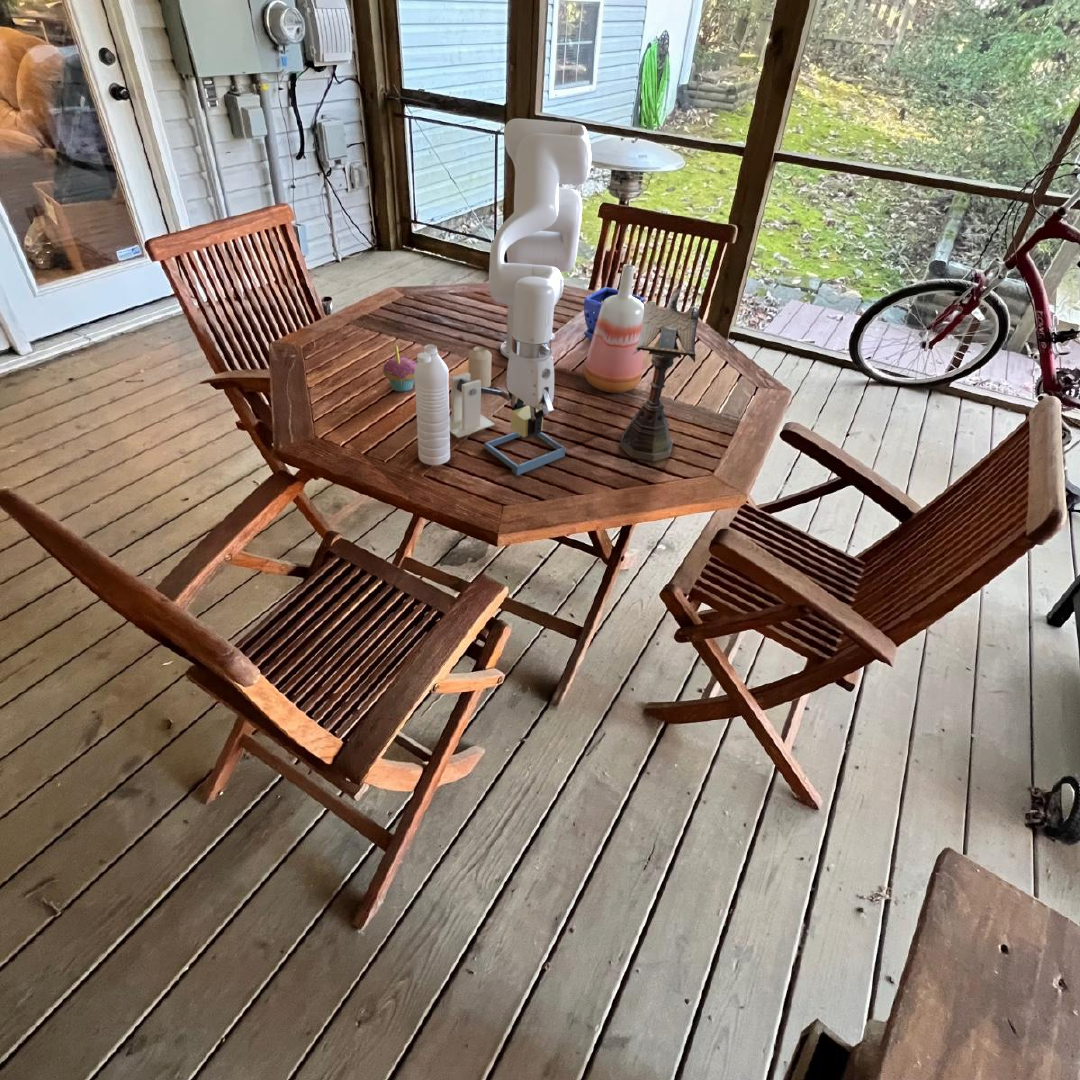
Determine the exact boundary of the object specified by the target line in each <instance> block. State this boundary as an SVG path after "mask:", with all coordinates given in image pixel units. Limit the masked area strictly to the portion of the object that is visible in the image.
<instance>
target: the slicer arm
mask: <svg viewBox="0 0 1080 1080" xmlns="http://www.w3.org/2000/svg"><path fill="white" fill-rule="evenodd" d="M468 382H471V381H470V380H465V379H460V380H459V383H458V386H457V390H459V391H460V392H462V384H465V383H468ZM481 394H487V395H494V396H499V397H501V398H502V399H504V400H505V401H507V402H509V401H510V402H511V399H510V397H509V394H508V392H507V391H506V390H504V389H502V388H500V387H499V386H497V385H496V386H494V387H493V388H490V387H488V388H485V387H481Z"/></svg>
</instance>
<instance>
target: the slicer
mask: <svg viewBox="0 0 1080 1080" xmlns="http://www.w3.org/2000/svg"><path fill="white" fill-rule="evenodd" d="M460 379H465V380H470V373H469V371H467V372H464V373H460V374H457V375H453V376H451V377H450V394H451V395H450V401H451V402H450V403H451V405H450V406H451V408H450V409H451V410H450V411H451V412H450V413H451V416H449V420H450V422H449V426H450V432H449V433H450V434H452V435H453V436H454V437H456V438H457V439H460V438H462V437H465V436H468V435H471V434H474V433H476V432H479V431H482V430H485V429H488V428H491V427H493V426H495V424H496V423H494V422H493V421H491V420H490V419H488V418H487V417H486V416H485V415H483V414H482V412H481V411H482V392H481V381H480V380H479V379H478V380H475V381H472V382H468V383H465V384H462V392H460V391H459V390H457V386H458V383H459V380H460Z"/></svg>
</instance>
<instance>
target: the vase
mask: <svg viewBox="0 0 1080 1080" xmlns="http://www.w3.org/2000/svg"><path fill="white" fill-rule="evenodd" d="M634 274H635V266H634V265H633V264H623V265H622V270H621V276H620V283H619V288H618V290H619V292H618V294H617V295H613V296H610V297H608V298H606V299H605V300H604V301H602V302H601V303H602V305H601V308H600V312H599V316H598V319H597V323H596V326H595V330H594V334H593V337H592V339H591V341H590V345H589V348H588V352H587V356H586V359H585V364H584V370H583V372H584V374H583V375H584V378H585V380H586V381H587V383H588V384H589V385H590V386H591V387H593V388H594V389H597V390H599V391H602V392H604V393H605V392H606V393H612V394H613V393H614V394H619V393H621V394H622V393H626V392H629V391H632V390H633V389H635V388H636V387H637V386H638V385H639V384H640V382H641V380H642V374H643V362H644V361H643V360H644V350H640V351H639V352H637V353H635V354H634V355H633V353H634V351H635V349H636V346H637V343H638V341H639V337H640V333H641V328H642V321H643V313H644V306H645V305H644V303H643V304H642V303H641V302H640V301H639V300H638V299H636V298H634V297H632V295H631V294H632V288H633V281H634Z"/></svg>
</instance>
